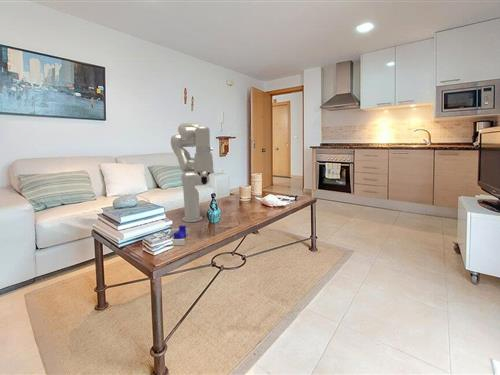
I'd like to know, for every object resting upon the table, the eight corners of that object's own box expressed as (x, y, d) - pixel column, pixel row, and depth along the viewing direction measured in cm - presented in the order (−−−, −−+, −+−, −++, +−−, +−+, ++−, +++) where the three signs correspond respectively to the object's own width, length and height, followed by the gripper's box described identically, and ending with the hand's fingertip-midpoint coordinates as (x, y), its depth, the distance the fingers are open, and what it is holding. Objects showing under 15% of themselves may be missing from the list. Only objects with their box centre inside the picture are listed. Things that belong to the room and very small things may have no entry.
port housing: (170, 234, 145) (170, 229, 145) (188, 233, 146) (188, 228, 146) (164, 246, 129) (164, 240, 128) (184, 245, 130) (184, 239, 130)
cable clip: (177, 236, 143) (177, 225, 142) (186, 236, 143) (185, 225, 142) (171, 245, 131) (170, 233, 130) (180, 245, 131) (179, 233, 130)
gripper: (217, 150, 147) (218, 182, 150) (189, 150, 145) (191, 183, 148) (217, 150, 139) (218, 184, 142) (188, 150, 138) (189, 185, 141)
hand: (204, 184), depth 145 cm, fingers closed
